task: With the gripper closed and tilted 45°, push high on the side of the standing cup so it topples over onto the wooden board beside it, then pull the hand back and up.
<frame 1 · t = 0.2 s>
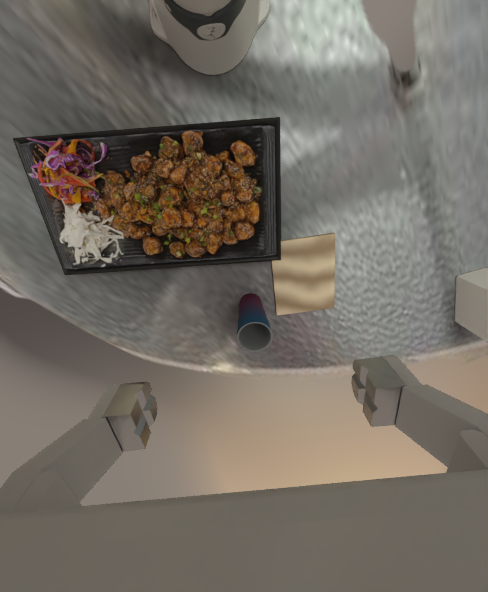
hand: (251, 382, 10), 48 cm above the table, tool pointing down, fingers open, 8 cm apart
food platter: (166, 203, 52), on the table, touching wooden board
wooden board: (303, 276, 60), on the table
cup: (250, 302, 62), on the table
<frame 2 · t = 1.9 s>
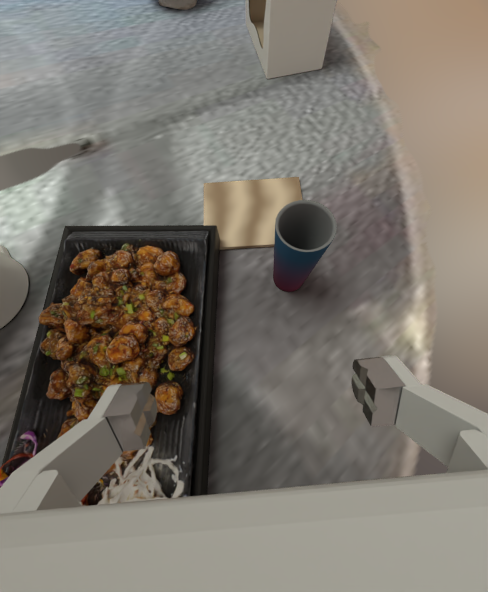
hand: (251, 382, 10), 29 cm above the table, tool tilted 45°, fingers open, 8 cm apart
food platter: (131, 373, 38), on the table, touching wooden board
wooden board: (253, 213, 47), on the table
gable box: (281, 47, 63), on the table
cup: (288, 278, 43), on the table
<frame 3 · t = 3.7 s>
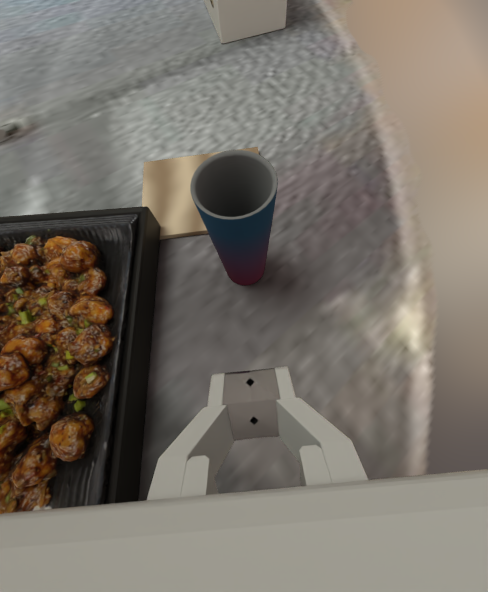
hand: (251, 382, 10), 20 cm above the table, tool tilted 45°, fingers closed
food platter: (43, 401, 30), on the table, touching wooden board
wooden board: (203, 194, 39), on the table
gable box: (239, 9, 55), on the table
cup: (245, 268, 34), on the table
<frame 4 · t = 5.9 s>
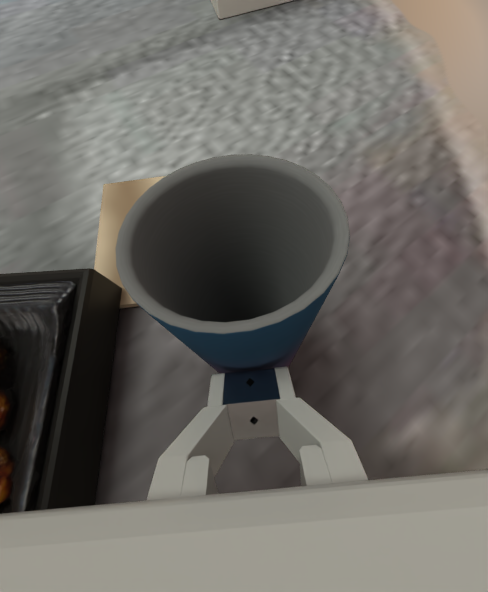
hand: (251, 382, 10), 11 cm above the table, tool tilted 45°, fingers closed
wooden board: (190, 233, 26), on the table
cup: (255, 361, 21), on the table
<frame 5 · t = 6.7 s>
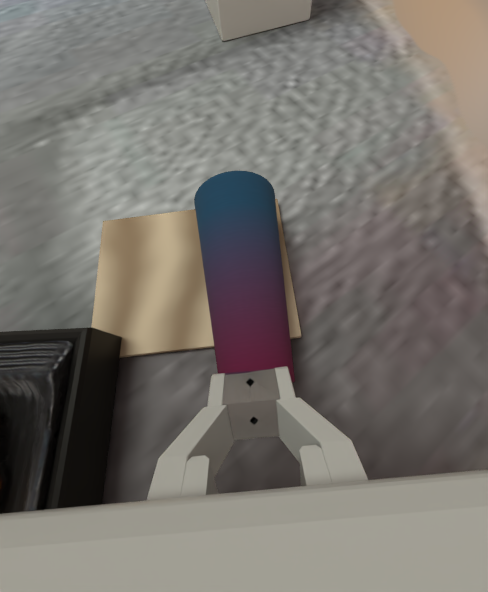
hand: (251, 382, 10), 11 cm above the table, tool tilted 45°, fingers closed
wooden board: (193, 275, 25), on the table
cup: (258, 389, 17), point 4 cm above the table, touching wooden board
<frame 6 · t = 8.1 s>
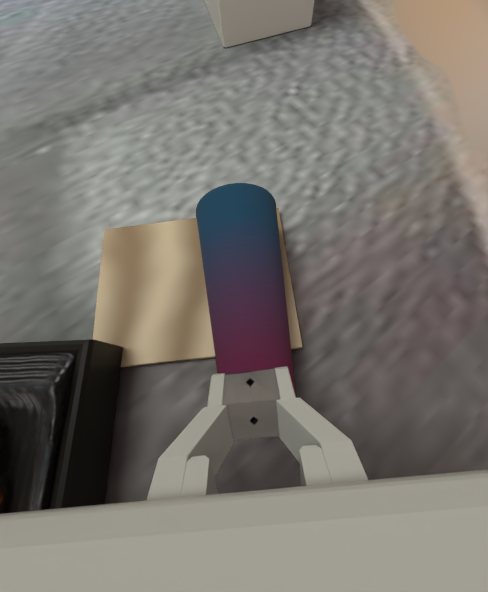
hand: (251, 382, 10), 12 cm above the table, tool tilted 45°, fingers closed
wooden board: (194, 284, 25), on the table
gable box: (248, 2, 41), on the table
cup: (259, 402, 17), point 4 cm above the table, touching wooden board
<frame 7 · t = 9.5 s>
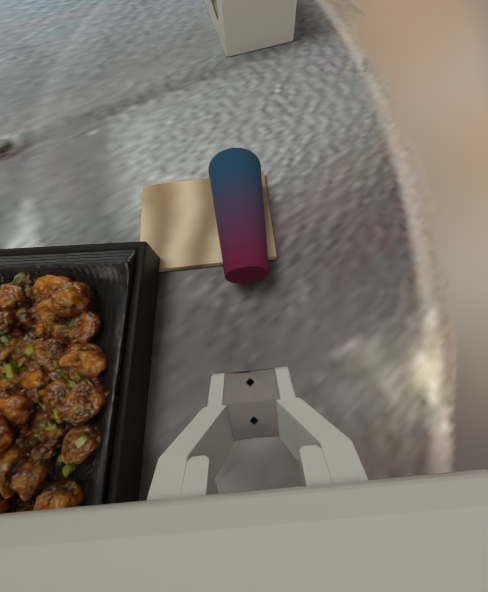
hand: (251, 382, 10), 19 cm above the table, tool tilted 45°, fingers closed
food platter: (30, 454, 27), on the table, touching wooden board
wooden board: (206, 222, 36), on the table
gable box: (245, 20, 52), on the table
cup: (247, 277, 29), point 4 cm above the table, touching wooden board
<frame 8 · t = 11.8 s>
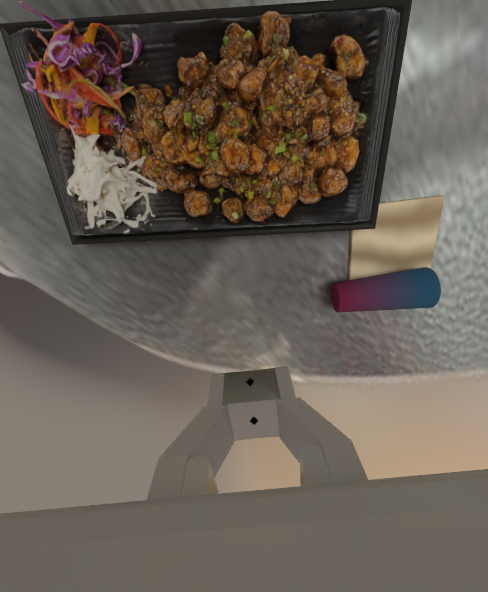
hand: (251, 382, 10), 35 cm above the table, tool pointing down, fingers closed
food platter: (217, 145, 37), on the table, touching wooden board
wooden board: (389, 255, 45), on the table
cup: (333, 297, 44), point 4 cm above the table, touching wooden board
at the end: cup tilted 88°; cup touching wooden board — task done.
